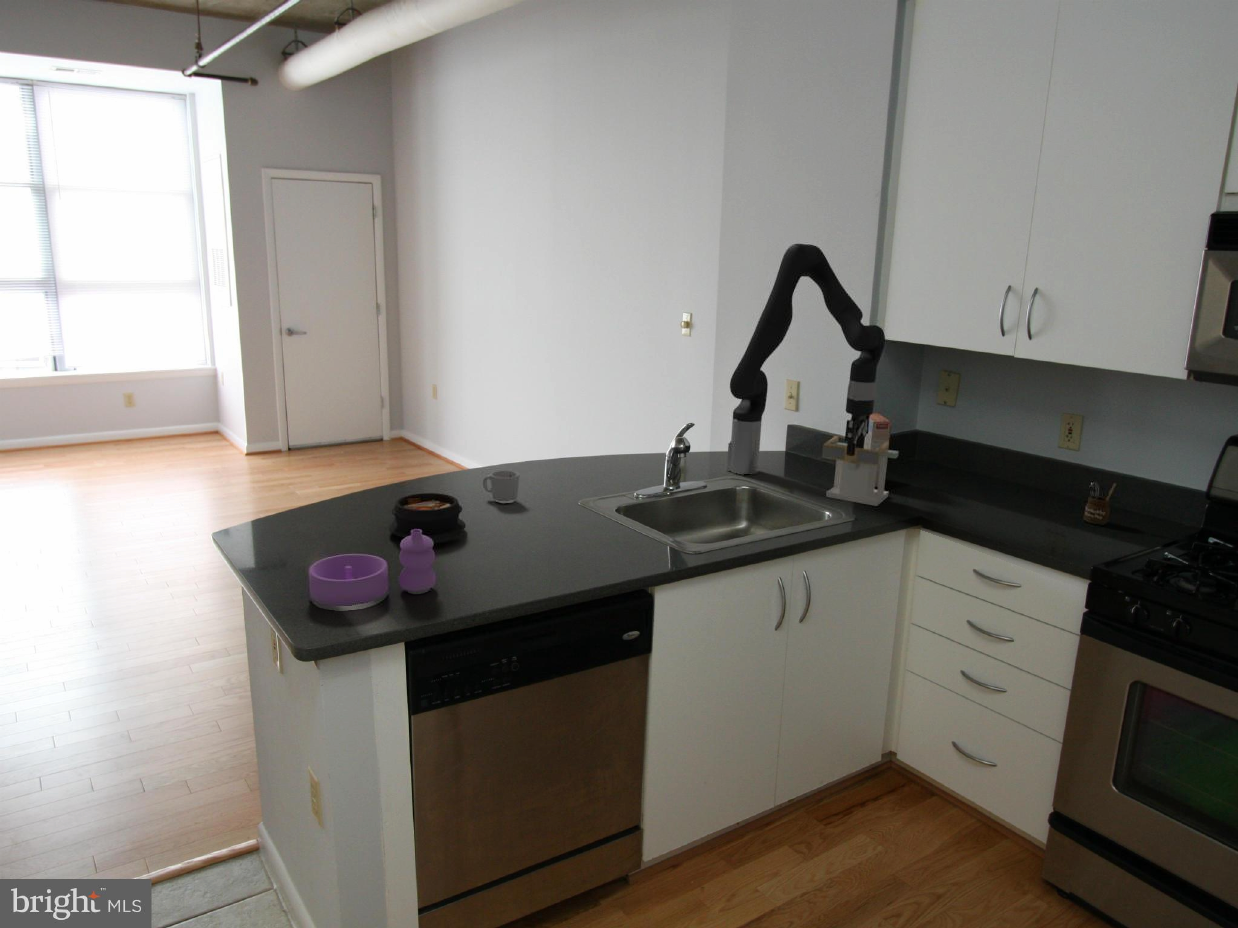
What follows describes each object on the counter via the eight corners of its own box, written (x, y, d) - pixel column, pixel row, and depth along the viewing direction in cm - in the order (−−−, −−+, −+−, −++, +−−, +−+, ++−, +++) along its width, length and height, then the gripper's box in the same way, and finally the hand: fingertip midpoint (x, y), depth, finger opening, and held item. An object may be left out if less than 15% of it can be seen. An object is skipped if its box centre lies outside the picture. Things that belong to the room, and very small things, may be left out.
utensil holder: (1087, 517, 252) (1094, 476, 249) (1111, 523, 247) (1119, 481, 244) (1079, 522, 248) (1087, 480, 244) (1104, 527, 243) (1111, 485, 240)
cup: (476, 502, 247) (476, 474, 245) (490, 494, 254) (490, 467, 252) (510, 507, 243) (510, 479, 241) (524, 500, 250) (524, 472, 248)
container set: (309, 615, 173) (306, 551, 170) (311, 585, 187) (307, 526, 184) (440, 603, 180) (439, 541, 177) (431, 575, 194) (430, 518, 191)
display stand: (814, 497, 262) (819, 447, 258) (831, 486, 275) (835, 438, 271) (882, 510, 252) (888, 458, 248) (896, 497, 264) (902, 448, 261)
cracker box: (884, 488, 274) (892, 421, 269) (865, 487, 274) (872, 421, 269) (873, 476, 288) (880, 412, 283) (854, 475, 288) (861, 412, 283)
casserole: (378, 522, 227) (377, 491, 225) (450, 514, 235) (449, 484, 233) (402, 555, 206) (401, 520, 204) (479, 545, 214) (479, 511, 212)
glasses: (821, 458, 259) (823, 444, 258) (834, 448, 271) (835, 435, 270) (877, 466, 252) (879, 452, 251) (887, 455, 264) (889, 442, 263)
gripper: (855, 391, 259) (849, 446, 263) (839, 398, 247) (834, 455, 251) (881, 395, 255) (875, 450, 259) (866, 402, 243) (860, 459, 247)
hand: (854, 452), depth 255 cm, fingers open, 8 cm apart
